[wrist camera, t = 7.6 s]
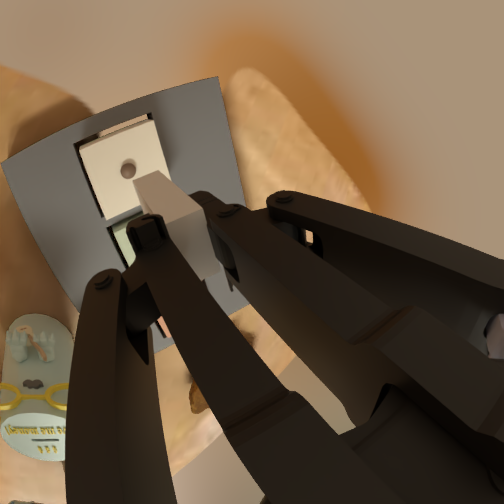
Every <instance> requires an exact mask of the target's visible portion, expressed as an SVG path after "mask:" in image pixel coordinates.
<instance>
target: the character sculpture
mask: <svg viewBox="0 0 504 504" xmlns="http://www.w3.org/2000/svg"><path fill="white" fill-rule="evenodd" d="M5 341H6V345H5V352H4V361H3V370H2V382H1V383H0V389H1V390H0V398H1V400H0V432H1V435H2V437H3V439H4V441H5V442H6V443H7V444H8V445H9V446H10V447H11V448H13V449H14V450H16V451H17V452H19V453H21V454H23V455H26V456H28V457H31V458H35V459H39V460H44V461H63V460H65V427H66V410H67V398H68V387H69V378H70V370H71V362H72V355H73V349H74V341H73V338H72V335H71V333H70V332H69V331H68V329H67V328H66V326H64V325H63V324H62V323H60V322H59V321H58V320H57V319H54V318H52V317H50V316H47V315H43V314H36V313H34V314H27V315H23V316H21V317H19V318H17V319H15V320H14V322H13V323H12V324H11V325H10V327H9V330H8V331H6V339H5Z"/></svg>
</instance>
